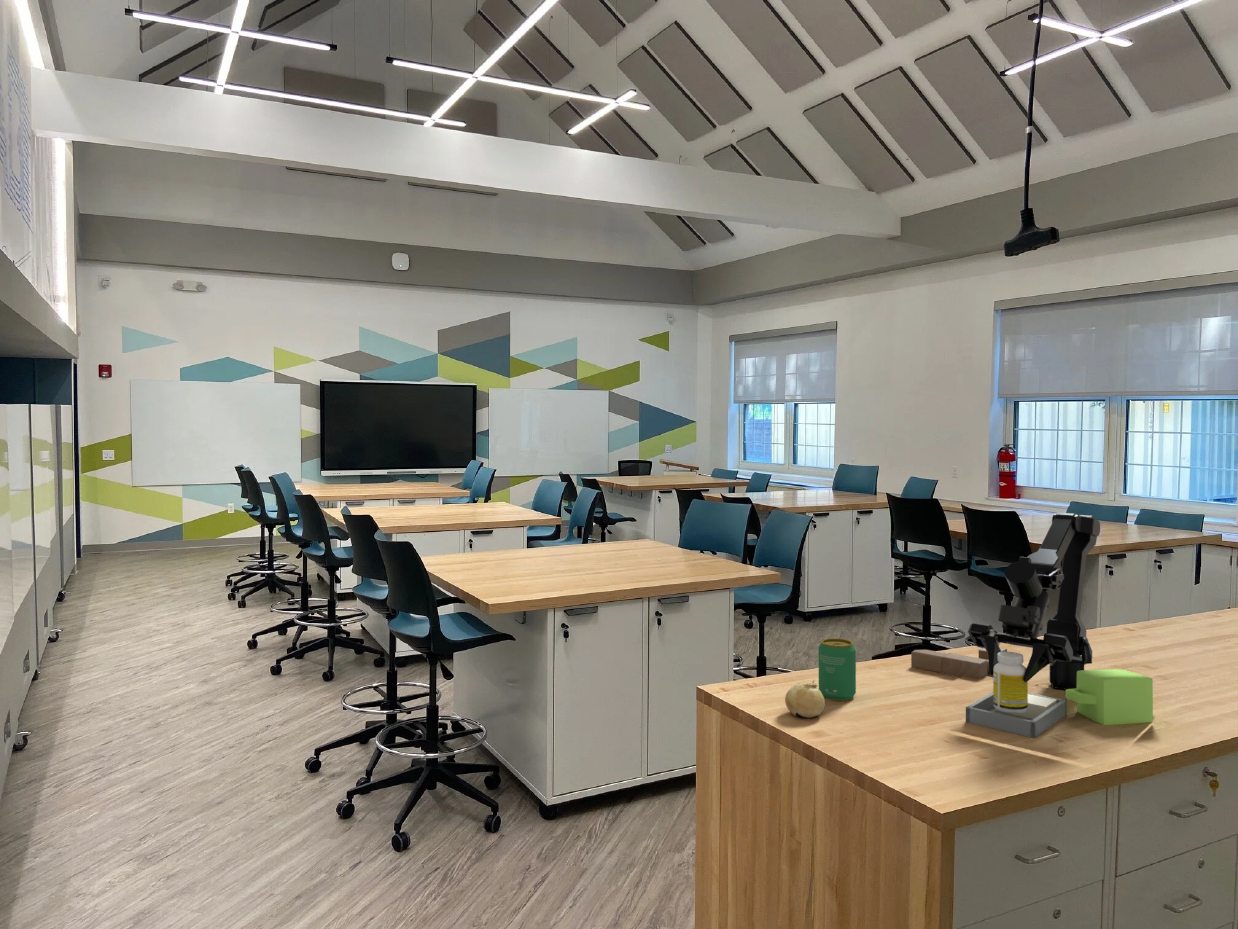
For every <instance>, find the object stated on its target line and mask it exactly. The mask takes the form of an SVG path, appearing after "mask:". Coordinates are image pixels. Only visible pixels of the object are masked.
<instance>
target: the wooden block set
mask: <svg viewBox="0 0 1238 929" xmlns="http://www.w3.org/2000/svg"><path fill="white" fill-rule="evenodd" d="M999 648H1000V650H1001V652H1008V649H1007V648H1003V647H999ZM910 656H911V657H910V658H911V661H910V662H911V663H910V666H911V667H912V668H914V667H915V669H920V670H924V671H929V670H931V671H930V672H934V671H935V672H934V673H939V672H941V673H940V674H942V675H946V674H947V676H951V675H953V676H952V677H956V676H957V678H962V677H964V676H965V677H969V678H974V679H978V680H979V679H982V678H985V677H988V674H989V675H990V673H989V659H988V652H987V651H986V649H985V648H979V649H978V657H973V656H968V655H963V654H958V653H952V652H949V653H945V652H941V651H935V650H930V649H914V650H913V651H911V654H910Z"/></svg>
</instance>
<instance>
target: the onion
mask: <svg viewBox="0 0 1238 929" xmlns="http://www.w3.org/2000/svg"><path fill="white" fill-rule="evenodd" d="M825 700H826V699H825V698H824V697H823V695H822V693H821V691H820V690H819V685H818V683H815V680H812V682H811V683H809V682H807V683H803V682H802V683H801V682H799V683H797V684H794V685H793V686H791V687H790V688H789V689H788V691H787V692H786V694H785V698H784V703H785V706H786V708H787V710H788V711H789V712H790V713H791V714H792V715H793V716H795V717H797V718H798V717H799V716H801V717H803V718H814V717H817V716H820V715H821V714H822V712H823V711H824V709H825V707H826V704H825V703H826V701H825Z"/></svg>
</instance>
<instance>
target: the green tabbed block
mask: <svg viewBox="0 0 1238 929" xmlns="http://www.w3.org/2000/svg"><path fill="white" fill-rule="evenodd" d="M1153 680H1154V679H1153V678H1152V677H1150V676H1147V675H1143V674H1140V673H1137V672H1134V671H1129V670H1125V669H1119V668H1117V669H1116V668H1114V669H1113V668H1112V669H1104V668H1103V669H1087V670H1086V669H1084V670H1082V671H1077V688H1076V689H1065V699H1068V700H1069V701H1072V702H1074V703H1076V712H1077V713H1079V714H1080V715H1082V716H1085V717H1086V718H1089V719H1090V720H1092V721H1094V722H1096V723H1099V724H1101V725H1103V726H1112V725H1113V726H1114V725H1127V724H1128V725H1129V724H1141V723H1143V724H1144V723H1150V724H1153V719H1154V715H1153V714H1154V709H1153V708H1154V699H1153V698H1154V696H1153V695H1154V689H1153V687H1154V686H1153V683H1154V682H1153Z"/></svg>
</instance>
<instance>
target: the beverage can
mask: <svg viewBox="0 0 1238 929" xmlns="http://www.w3.org/2000/svg"><path fill="white" fill-rule="evenodd" d="M820 642H821V643H820V644H819V646H818V689H819V690H820V691H821V693H822V695H823V697H824V699H825V698H826V699H825V700H828V699H830V700H829V701H837V702H846V701H847V702H848V701H850V700H853V699H854V698H855V695H856V694H857V685H856V684H857V648H856V647H855V645H854V642H853V641H852V640H849V639H845V638H825V639H822V640H821V641H820ZM853 697H854V698H853Z"/></svg>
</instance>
